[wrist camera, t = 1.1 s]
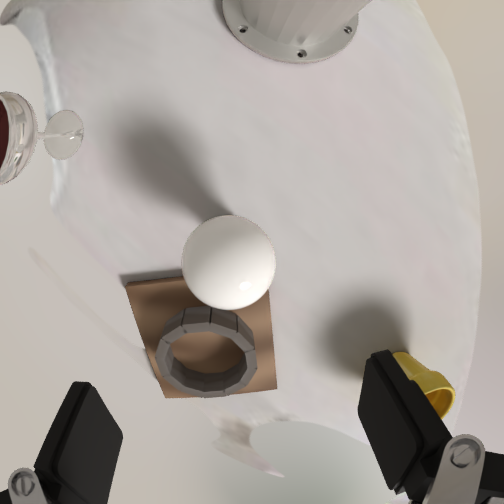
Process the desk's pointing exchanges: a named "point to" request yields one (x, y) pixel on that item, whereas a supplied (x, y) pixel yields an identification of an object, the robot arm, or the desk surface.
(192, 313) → the bulb holder
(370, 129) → the desk surface
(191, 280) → the lightbulb
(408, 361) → the plant pot
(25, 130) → the wineglass
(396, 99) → the desk surface
